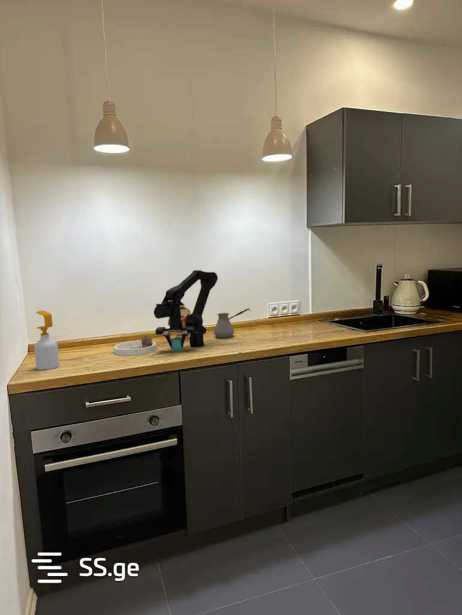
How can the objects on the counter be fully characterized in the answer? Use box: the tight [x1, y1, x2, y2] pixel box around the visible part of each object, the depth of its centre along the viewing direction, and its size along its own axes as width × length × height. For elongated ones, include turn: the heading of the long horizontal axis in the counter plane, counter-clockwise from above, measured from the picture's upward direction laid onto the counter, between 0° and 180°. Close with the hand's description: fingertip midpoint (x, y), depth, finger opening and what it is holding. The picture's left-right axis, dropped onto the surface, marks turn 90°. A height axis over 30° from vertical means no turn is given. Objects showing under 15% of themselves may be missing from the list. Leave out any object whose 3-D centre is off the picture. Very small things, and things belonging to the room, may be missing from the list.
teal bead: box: [171, 337, 183, 353], centre depth 194 cm, size 5×5×6 cm
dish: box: [113, 340, 158, 357], centre depth 199 cm, size 20×20×3 cm
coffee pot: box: [213, 307, 251, 339], centre depth 223 cm, size 21×12×15 cm, turn 103°
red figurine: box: [174, 304, 192, 342], centre depth 219 cm, size 9×9×20 cm
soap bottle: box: [33, 310, 60, 371], centre depth 173 cm, size 9×9×25 cm
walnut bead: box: [140, 335, 153, 348], centre depth 198 cm, size 5×5×6 cm
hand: (176, 347), depth 194 cm, fingers closed on teal bead, 5 cm apart
